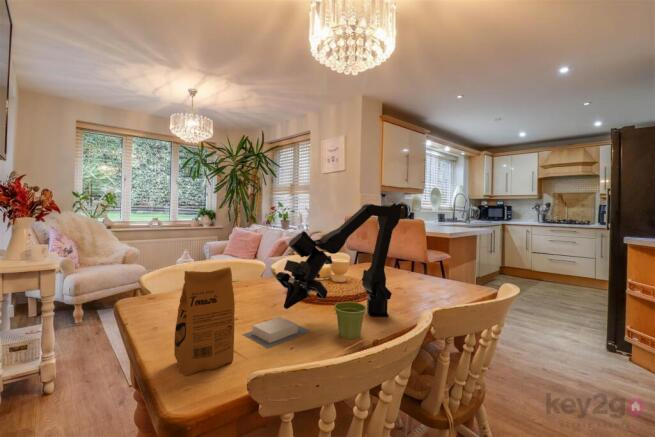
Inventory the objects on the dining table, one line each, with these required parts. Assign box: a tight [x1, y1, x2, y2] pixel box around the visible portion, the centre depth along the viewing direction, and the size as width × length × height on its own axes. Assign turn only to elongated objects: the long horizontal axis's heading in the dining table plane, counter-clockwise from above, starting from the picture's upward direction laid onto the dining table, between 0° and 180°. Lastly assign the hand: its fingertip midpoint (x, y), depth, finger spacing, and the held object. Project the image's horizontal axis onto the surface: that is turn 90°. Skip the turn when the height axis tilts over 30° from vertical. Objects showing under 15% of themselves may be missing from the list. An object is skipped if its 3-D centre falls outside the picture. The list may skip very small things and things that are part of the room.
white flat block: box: [252, 316, 299, 343], centre depth 87 cm, size 3×8×10 cm
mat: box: [242, 325, 312, 349], centre depth 88 cm, size 16×12×1 cm
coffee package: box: [173, 266, 236, 377], centre depth 70 cm, size 10×12×22 cm
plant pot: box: [333, 301, 367, 340], centre depth 88 cm, size 9×9×9 cm
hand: (285, 308), depth 89 cm, fingers closed
